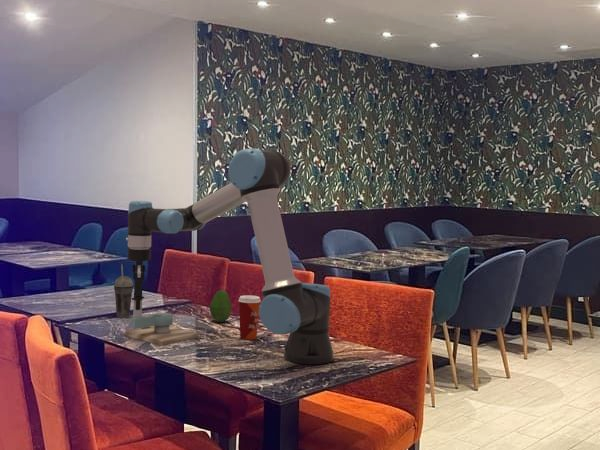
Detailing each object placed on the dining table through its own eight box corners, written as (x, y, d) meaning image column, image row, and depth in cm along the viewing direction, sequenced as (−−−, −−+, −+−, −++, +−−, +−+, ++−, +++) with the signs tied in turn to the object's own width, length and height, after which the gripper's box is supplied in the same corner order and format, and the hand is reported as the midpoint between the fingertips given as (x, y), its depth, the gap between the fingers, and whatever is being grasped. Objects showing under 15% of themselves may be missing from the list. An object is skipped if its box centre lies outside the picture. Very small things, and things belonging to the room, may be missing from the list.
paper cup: (256, 341, 230) (257, 299, 229) (234, 339, 231) (235, 298, 230) (262, 336, 237) (263, 295, 236) (240, 334, 239) (242, 294, 238)
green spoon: (165, 320, 236) (165, 312, 236) (176, 324, 231) (176, 315, 231) (127, 325, 226) (127, 316, 226) (138, 330, 221) (138, 320, 221)
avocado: (231, 319, 262) (232, 288, 261) (230, 324, 254) (231, 292, 253) (210, 319, 261) (211, 287, 260) (208, 323, 254) (209, 291, 253)
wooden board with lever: (197, 337, 232) (198, 325, 232) (161, 345, 219) (161, 333, 219) (161, 328, 243) (162, 317, 243) (125, 335, 230) (125, 323, 230)
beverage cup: (137, 316, 260) (138, 264, 259) (122, 319, 254) (123, 265, 253) (123, 314, 264) (124, 262, 263) (108, 316, 258) (109, 263, 256)
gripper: (127, 245, 232) (125, 314, 234) (127, 250, 219) (125, 323, 221) (150, 246, 234) (148, 314, 236) (151, 250, 221) (149, 323, 223)
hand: (137, 318), depth 228 cm, fingers closed
